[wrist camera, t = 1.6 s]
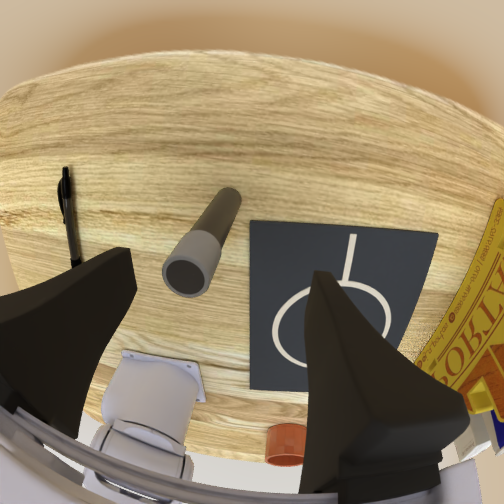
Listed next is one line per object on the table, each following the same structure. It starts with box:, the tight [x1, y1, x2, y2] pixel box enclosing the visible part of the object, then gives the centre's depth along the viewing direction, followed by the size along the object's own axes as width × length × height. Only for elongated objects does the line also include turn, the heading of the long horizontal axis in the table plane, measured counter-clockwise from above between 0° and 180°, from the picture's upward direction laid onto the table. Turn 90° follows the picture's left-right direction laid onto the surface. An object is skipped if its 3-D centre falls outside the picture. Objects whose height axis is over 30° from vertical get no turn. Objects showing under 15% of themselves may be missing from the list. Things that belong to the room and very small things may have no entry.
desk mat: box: [250, 220, 439, 392], centre depth 24 cm, size 15×20×1 cm
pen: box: [57, 166, 82, 268], centre depth 22 cm, size 14×2×1 cm, turn 172°
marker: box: [162, 188, 241, 298], centre depth 15 cm, size 2×2×10 cm
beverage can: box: [481, 409, 504, 456], centre depth 17 cm, size 6×6×15 cm
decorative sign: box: [414, 198, 504, 422], centre depth 15 cm, size 20×3×15 cm, turn 172°
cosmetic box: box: [454, 413, 492, 462], centre depth 22 cm, size 6×4×12 cm
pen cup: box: [265, 424, 307, 467], centre depth 32 cm, size 6×6×5 cm
